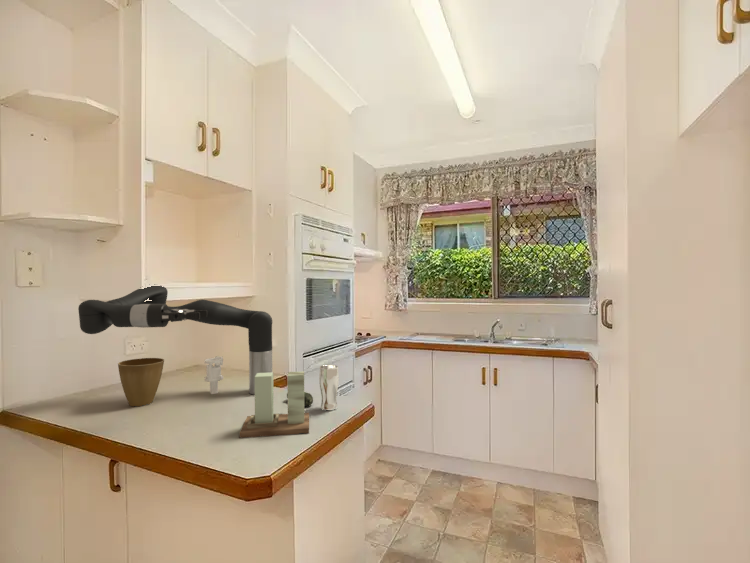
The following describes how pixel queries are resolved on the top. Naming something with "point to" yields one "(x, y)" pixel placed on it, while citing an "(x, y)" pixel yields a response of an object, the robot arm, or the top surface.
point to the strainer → (214, 373)
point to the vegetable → (307, 399)
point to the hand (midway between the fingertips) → (203, 314)
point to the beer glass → (328, 386)
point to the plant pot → (140, 379)
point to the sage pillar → (264, 398)
